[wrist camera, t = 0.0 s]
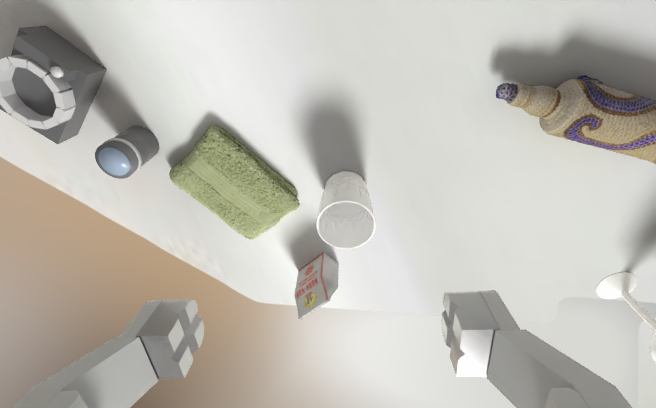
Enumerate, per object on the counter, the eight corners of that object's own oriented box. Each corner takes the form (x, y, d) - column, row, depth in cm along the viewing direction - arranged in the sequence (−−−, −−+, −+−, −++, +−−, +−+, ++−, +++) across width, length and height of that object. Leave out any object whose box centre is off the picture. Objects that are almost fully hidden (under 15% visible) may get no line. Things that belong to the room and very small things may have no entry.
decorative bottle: (683, 104, 44) (733, 120, 38) (641, 155, 48) (681, 176, 42) (505, 50, 42) (530, 58, 36) (475, 108, 46) (494, 124, 40)
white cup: (327, 161, 50) (324, 194, 42) (377, 174, 51) (384, 209, 43) (315, 204, 54) (310, 241, 46) (361, 215, 55) (365, 254, 47)
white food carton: (338, 263, 61) (337, 306, 52) (312, 281, 64) (307, 325, 55) (324, 251, 60) (320, 293, 51) (298, 271, 62) (291, 314, 54)
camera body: (43, 24, 42) (0, 27, 37) (108, 70, 45) (76, 80, 40) (19, 97, 47) (-22, 109, 42) (78, 135, 50) (47, 151, 45)
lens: (118, 126, 49) (86, 144, 43) (152, 124, 49) (124, 142, 42) (132, 159, 52) (104, 180, 46) (164, 157, 51) (140, 178, 45)
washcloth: (254, 238, 59) (250, 249, 56) (169, 170, 53) (160, 180, 50) (306, 195, 54) (304, 205, 51) (219, 115, 48) (212, 122, 45)
